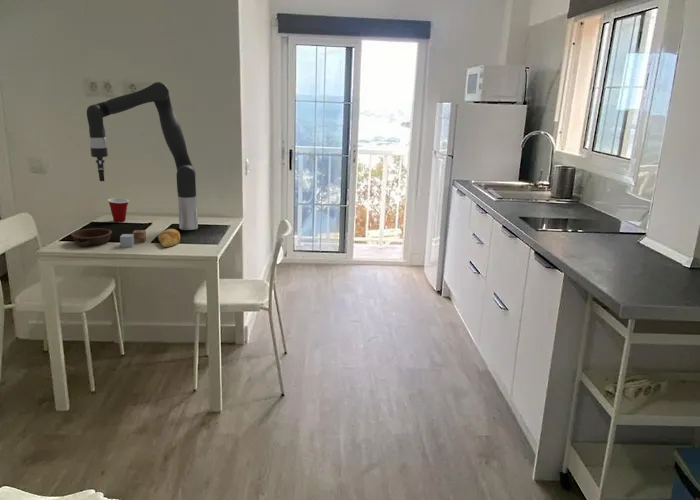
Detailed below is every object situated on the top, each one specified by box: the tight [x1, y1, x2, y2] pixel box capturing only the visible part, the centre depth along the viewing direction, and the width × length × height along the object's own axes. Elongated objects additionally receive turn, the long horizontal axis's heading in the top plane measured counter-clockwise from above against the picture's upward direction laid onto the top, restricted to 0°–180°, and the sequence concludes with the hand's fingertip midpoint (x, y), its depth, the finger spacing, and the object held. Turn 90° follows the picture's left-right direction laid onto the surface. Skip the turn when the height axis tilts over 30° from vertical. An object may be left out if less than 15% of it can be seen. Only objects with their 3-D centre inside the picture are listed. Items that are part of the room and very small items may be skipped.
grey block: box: [119, 233, 135, 248], centre depth 258 cm, size 5×5×5 cm
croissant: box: [157, 228, 181, 248], centre depth 265 cm, size 21×10×8 cm, turn 6°
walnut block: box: [132, 229, 147, 244], centre depth 266 cm, size 5×5×5 cm
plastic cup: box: [107, 197, 130, 223], centre depth 303 cm, size 11×11×12 cm
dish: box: [70, 227, 113, 247], centre depth 261 cm, size 18×22×5 cm
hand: (102, 179), depth 276 cm, fingers open, 8 cm apart
